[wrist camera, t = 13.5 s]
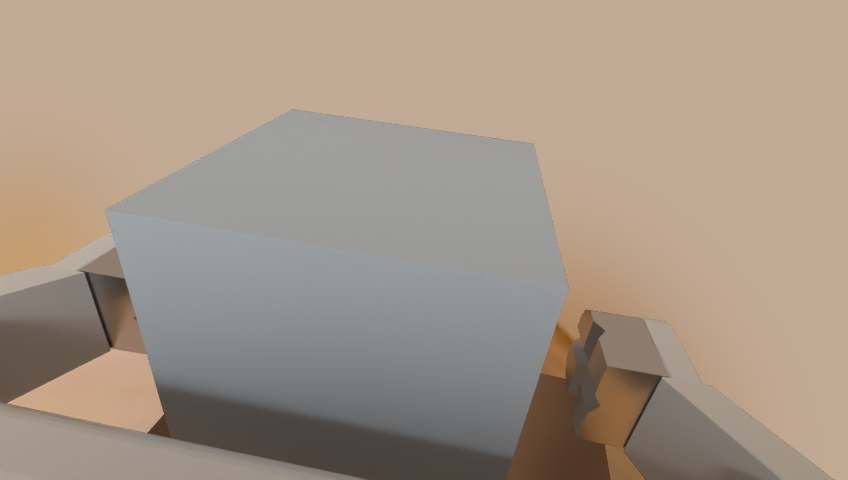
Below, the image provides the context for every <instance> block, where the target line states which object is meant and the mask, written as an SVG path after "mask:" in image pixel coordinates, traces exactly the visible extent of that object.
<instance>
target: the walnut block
mask: <svg viewBox="0 0 848 480" xmlns="http://www.w3.org/2000/svg"><path fill="white" fill-rule="evenodd" d="M574 399H575V397H574V396H573V395H572V394H571V393H570V392H569V390H568V388H567V382H566V379H563V378H558V377H554V376H550V375H545V374H541V373H540V376H539V379H538V382H537V385H536V389H535V392H534V395H533V398H532V401H531V404H530V407H529V410H528V413H527V416H526V419H525V422H524V425H523V428H522V431H521V434H520V437H519V440H518V443H517V446H516V450H515V453H514V456H513V459H512V462H511V465H510V468H509V471H508V474H507V477H506V480H610V475H609V469H608V463H607V457H606V451H605V445H604V444H601V443H597V442H592V441H588V440H583V439H579V438H577V437H576V432H575V427H574V421H573V416H572V411H571V407H572V404H573V402H574ZM148 433H149V434H154V435H158V436H163V437H168V438H171V436H170V432H169V429H168V425H167V422H166V418H165V415H163V416H162V417H161V419H160V420H159V421H158V422H157V423H156V424H155V425H154V426H153V427H152V429H151V430H150V431H149V432H148Z"/></svg>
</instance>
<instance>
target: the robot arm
mask: <svg viewBox="0 0 848 480" xmlns="http://www.w3.org/2000/svg"><path fill="white" fill-rule="evenodd" d="M578 328H579V333H580V338H578V339H577V340H575V341H574V342H572V343H571V346H570V350H569V353H568V356H567V363H566V382H567V388H568V390H569V392H570V393H571V394H572V395H573V396H574V397H575V399H574V402H573V404H572V407H571V411H572V416H573V421H574V427H575V432H576V437H577V438H579V439H583V440H588V441H592V442H597V443H601V444H606V445H610V446H615V447H619V448H624V452H625V453H626V455H627V456H628V457H629V459H630V460H631V461H632V463H633V464H634V465H635V467H636V468H637V469H638V470H639V472H640V473H641V474H642V476H643V477H644V478H645V480H834V479H833V478H831V477H830V476H829V475H828V474H826V473H825V472H824V471H822V470H821V469H820V468H818V467H817V466H816V465H815V464H813V463H812V462H811V461H809V460H808V459H807V458H805V457H804V456H803V455H801V454H800V453H799V452H798V451H796V450H795V449H794V448H792V447H791V446H790V445H788V444H787V443H786V442H784V441H783V440H782V439H780V438H779V437H778V436H777V435H775V434H774V433H773V432H771V431H770V430H769V429H768V428H766V427H765V426H764V425H762V424H761V423H760V422H758V421H757V420H756V419H755V418H753V417H752V416H751V415H749V414H748V413H747V412H745V411H744V410H743V409H742V408H740V407H739V406H738V405H736V404H735V403H734V402H732V401H731V400H730V399H729V398H727V397H726V396H724V395H723V394H722V393H721V392H719V391H718V390H717V389H715V388H714V387H713V386H710V385H704V384H703V383H702V381H701V379H700V377H699V376H698V374H697V372H696V370H695V368H694V367H693V365H692V363H691V361H690V359H689V357H688V356H687V354H686V352H685V350H684V348H683V346H682V344H681V343H680V341H679V339H678V337H677V335H676V334H675V331H674V330H673V328H672V326H671V325H670V324H669V323H667V322H666V321H661V320H654V319H646V318H640V317H639V318H636V317H630V316H623V315H617V314H610V313H604V312H598V311H592V310H585V311H584V313H583V314H582V316H581V318H580V321H579V324H578ZM110 348H111V349H117V350H123V351H129V352H135V353H141V354H147V353H146V349H145V346H144V342H143V339H142V336H141V332H140V329H139V325H138V322H137V318H136V315H135V311H134V308H133V304H132V301H131V298H130V294H129V291H128V287H127V284H126V280H125V277H124V273H123V270H122V266H121V263H120V260H119V256H118V253H117V249H116V246H115V242H114V239H113V235H112V232H109V233H107V234H106V235H104V236H102V237H101V238H99V239H97V240H96V241H94V242H92V243H91V244H89V245H87V246H85V247H84V248H82V249H80V250H78V251H77V252H75V253H73V254H72V255H70V256H68V257H67V258H65V259H63V260H61V261H60V262H58V263H56V264H54V265H53V266H47V265H42V266H38V267H34V268H30V269H26V270H22V271H18V272H13V273H9V274H6V275H1V276H0V480H367V479H363V478H358V477H353V476H348V475H344V474H339V473H334V472H329V471H325V470H320V469H315V468H310V467H306V466H301V465H296V464H291V463H287V462H282V461H277V460H272V459H268V458H263V457H258V456H253V455H249V454H244V453H239V452H234V451H230V450H225V449H220V448H215V447H211V446H206V445H201V444H196V443H192V442H187V441H182V440H177V439H173V438H168V437H163V436H158V435H154V434H149V433H144V432H139V431H135V430H130V429H125V428H120V427H116V426H111V425H106V424H101V423H97V422H92V421H87V420H82V419H78V418H73V417H68V416H63V415H59V414H54V413H49V412H44V411H40V410H35V409H30V408H25V407H21V406H16V405H11V404H6V403H8V402H10V401H12V400H14V399H16V398H18V397H20V396H22V395H24V394H26V393H28V392H30V391H32V390H34V389H36V388H38V387H40V386H42V385H43V384H45V383H47V382H49V381H51V380H53V379H55V378H57V377H59V376H61V375H63V374H65V373H67V372H69V371H71V370H73V369H75V368H77V367H79V366H81V365H83V364H85V363H87V362H89V361H91V360H93V359H95V358H97V357H99V356H101V355H103V354H105V353H107V352H109V351H110V350H111V349H110Z"/></svg>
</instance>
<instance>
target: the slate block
mask: <svg viewBox="0 0 848 480" xmlns="http://www.w3.org/2000/svg"><path fill="white" fill-rule="evenodd" d="M105 211H106V215H107V218H108V221H109V225H110V228H111V232H112V235H113V239H114V242H115V246H116V249H117V253H118V256H119V260H120V263H121V266H122V270H123V273H124V277H125V280H126V284H127V287H128V291H129V294H130V298H131V301H132V304H133V308H134V311H135V315H136V318H137V322H138V325H139V329H140V332H141V336H142V339H143V342H144V346H145V349H146V353H147V356H148V360H149V363H150V367H151V370H152V374H153V377H154V380H155V384H156V387H157V391H158V394H159V398H160V401H161V405H162V408H163V412H164V415H165V418H166V422H167V425H168V429H169V432H170V436H171V438H173V439H177V440H182V441H187V442H192V443H196V444H201V445H206V446H211V447H215V448H220V449H225V450H230V451H234V452H239V453H244V454H249V455H253V456H258V457H263V458H268V459H272V460H277V461H282V462H287V463H291V464H296V465H301V466H306V467H310V468H315V469H320V470H325V471H329V472H334V473H339V474H344V475H348V476H353V477H358V478H363V479H367V480H506V477H507V474H508V471H509V468H510V465H511V462H512V459H513V456H514V453H515V450H516V446H517V443H518V440H519V437H520V434H521V431H522V428H523V425H524V422H525V419H526V416H527V413H528V410H529V407H530V404H531V401H532V398H533V395H534V392H535V389H536V385H537V382H538V379H539V376H540V373H541V370H542V367H543V364H544V361H545V358H546V355H547V352H548V349H549V346H550V343H551V340H552V337H553V334H554V331H555V328H556V324H557V321H558V318H559V315H560V312H561V309H562V306H563V303H564V300H565V297H566V294H567V291H568V288H569V287H568V283H567V278H566V275H565V270H564V266H563V262H562V258H561V254H560V250H559V246H558V242H557V238H556V234H555V230H554V225H553V221H552V217H551V213H550V209H549V205H548V201H547V197H546V193H545V189H544V185H543V180H542V177H541V172H540V168H539V165H538V160H537V156H536V152H535V148H534V144H531V143H524V142H517V141H510V140H503V139H496V138H490V137H482V136H475V135H469V134H462V133H454V132H447V131H440V130H434V129H426V128H419V127H412V126H405V125H399V124H392V123H384V122H378V121H371V120H364V119H356V118H350V117H342V116H336V115H328V114H322V113H314V112H307V111H300V110H294V109H292V110H291V111H289V112H287V113H285V114H283V115H281V116H279V117H277V118H276V119H274V120H272V121H270V122H268V123H266V124H264V125H263V126H261V127H259V128H257V129H255V130H253V131H251V132H249V133H247V134H246V135H244V136H242V137H240V138H238V139H236V140H234V141H232V142H231V143H229V144H227V145H225V146H223V147H221V148H219V149H218V150H216V151H214V152H212V153H210V154H208V155H207V156H205V157H203V158H201V159H199V160H197V161H195V162H193V163H191V164H189V165H188V166H186V167H184V168H182V169H180V170H178V171H177V172H175V173H173V174H171V175H169V176H167V177H165V178H163V179H162V180H160V181H158V182H156V183H154V184H152V185H150V186H148V187H146V188H145V189H143V190H141V191H139V192H137V193H135V194H133V195H132V196H130V197H128V198H126V199H124V200H122V201H120V202H118V203H116V204H115V205H113V206H111V207H109V208H107V209H106V210H105Z"/></svg>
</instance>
